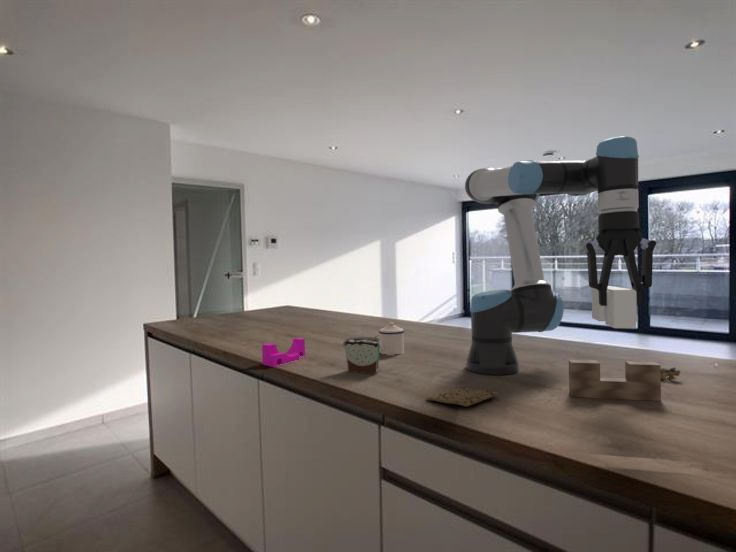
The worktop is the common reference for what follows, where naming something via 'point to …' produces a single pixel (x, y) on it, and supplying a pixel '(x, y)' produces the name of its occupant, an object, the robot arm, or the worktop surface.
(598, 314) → the white bridge
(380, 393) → the worktop surface
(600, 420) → the worktop surface
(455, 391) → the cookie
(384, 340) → the teacup with lid
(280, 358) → the toy block
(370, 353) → the food container
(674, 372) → the frog figurine
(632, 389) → the walnut notched block
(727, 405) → the worktop surface
